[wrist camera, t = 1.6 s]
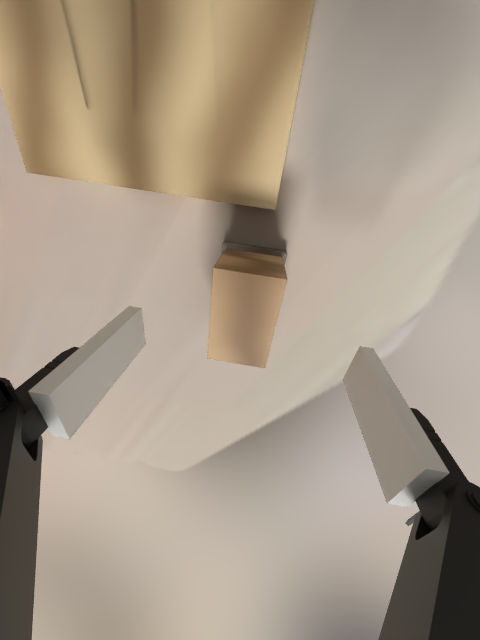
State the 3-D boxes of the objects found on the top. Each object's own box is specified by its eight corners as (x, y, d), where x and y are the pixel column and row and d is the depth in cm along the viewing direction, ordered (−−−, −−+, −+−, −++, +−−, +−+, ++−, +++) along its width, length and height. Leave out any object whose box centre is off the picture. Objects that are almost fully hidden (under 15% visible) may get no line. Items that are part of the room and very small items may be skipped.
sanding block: (217, 321, 23) (203, 360, 18) (224, 241, 19) (208, 262, 14) (268, 329, 23) (268, 371, 18) (286, 250, 19) (293, 275, 14)
